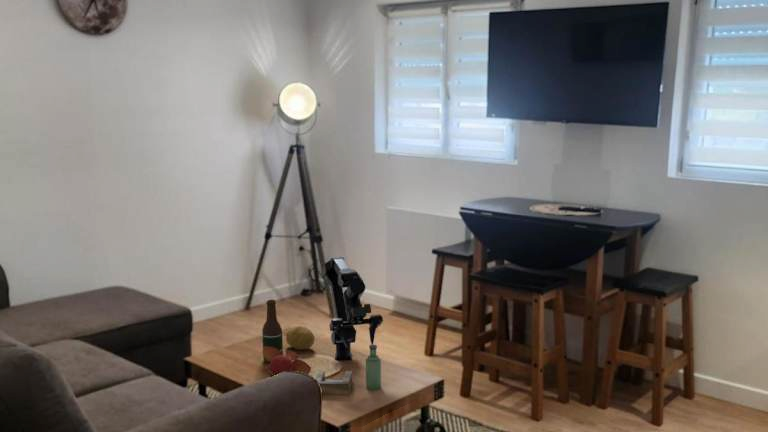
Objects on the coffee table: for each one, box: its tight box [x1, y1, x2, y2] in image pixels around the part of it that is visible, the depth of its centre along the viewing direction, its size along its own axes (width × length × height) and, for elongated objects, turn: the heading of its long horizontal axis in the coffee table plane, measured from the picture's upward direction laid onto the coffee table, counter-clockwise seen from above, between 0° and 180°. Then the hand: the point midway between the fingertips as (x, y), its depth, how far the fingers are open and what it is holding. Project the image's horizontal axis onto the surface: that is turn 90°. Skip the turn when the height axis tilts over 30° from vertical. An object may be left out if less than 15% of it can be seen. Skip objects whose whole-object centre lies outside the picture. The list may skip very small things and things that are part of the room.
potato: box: [285, 325, 315, 351], centre depth 288 cm, size 10×13×9 cm
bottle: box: [365, 344, 382, 391], centre depth 246 cm, size 5×5×15 cm
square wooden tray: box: [314, 370, 353, 396], centre depth 247 cm, size 12×12×4 cm
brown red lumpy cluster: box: [262, 346, 312, 376], centre depth 260 cm, size 20×9×15 cm
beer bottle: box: [261, 299, 284, 365], centre depth 273 cm, size 8×8×24 cm
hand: (359, 345), depth 252 cm, fingers open, 9 cm apart
